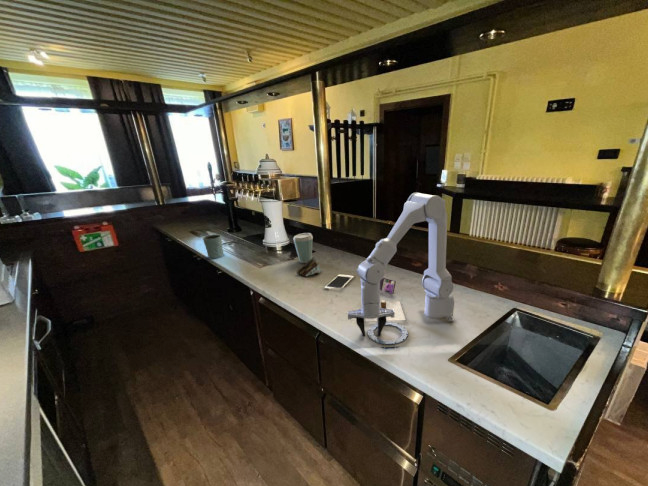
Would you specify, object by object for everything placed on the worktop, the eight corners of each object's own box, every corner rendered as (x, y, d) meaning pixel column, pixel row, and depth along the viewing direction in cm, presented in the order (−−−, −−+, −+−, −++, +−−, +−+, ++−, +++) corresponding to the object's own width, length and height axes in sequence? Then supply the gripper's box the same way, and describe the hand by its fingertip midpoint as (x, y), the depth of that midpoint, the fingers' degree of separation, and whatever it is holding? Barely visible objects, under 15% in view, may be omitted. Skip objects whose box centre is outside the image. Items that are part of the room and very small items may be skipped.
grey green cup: (210, 253, 187) (205, 235, 182) (227, 252, 188) (223, 233, 182) (205, 259, 178) (200, 239, 173) (222, 258, 178) (218, 238, 173)
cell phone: (354, 277, 143) (354, 275, 143) (340, 291, 130) (340, 289, 130) (339, 275, 146) (339, 274, 146) (324, 288, 133) (324, 287, 133)
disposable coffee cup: (296, 265, 162) (293, 238, 155) (295, 259, 171) (292, 233, 165) (316, 263, 164) (313, 236, 157) (313, 256, 173) (311, 231, 167)
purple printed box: (376, 276, 126) (394, 281, 121) (382, 276, 130) (400, 281, 125) (373, 291, 127) (391, 297, 122) (379, 291, 132) (397, 296, 126)
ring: (404, 325, 103) (404, 321, 102) (410, 347, 92) (410, 343, 91) (367, 327, 103) (367, 322, 103) (369, 349, 92) (369, 344, 91)
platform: (399, 304, 117) (399, 291, 115) (405, 323, 104) (406, 309, 102) (363, 306, 117) (363, 293, 115) (365, 325, 105) (364, 311, 102)
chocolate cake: (302, 280, 144) (318, 260, 144) (294, 272, 148) (309, 253, 148) (313, 286, 152) (328, 268, 152) (305, 279, 156) (320, 261, 156)
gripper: (392, 292, 95) (392, 328, 101) (347, 294, 96) (348, 330, 101) (395, 302, 89) (394, 341, 95) (346, 304, 89) (348, 342, 95)
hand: (371, 336), depth 98 cm, fingers open, 4 cm apart
